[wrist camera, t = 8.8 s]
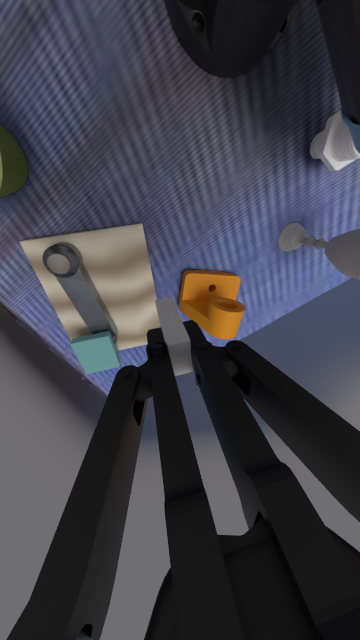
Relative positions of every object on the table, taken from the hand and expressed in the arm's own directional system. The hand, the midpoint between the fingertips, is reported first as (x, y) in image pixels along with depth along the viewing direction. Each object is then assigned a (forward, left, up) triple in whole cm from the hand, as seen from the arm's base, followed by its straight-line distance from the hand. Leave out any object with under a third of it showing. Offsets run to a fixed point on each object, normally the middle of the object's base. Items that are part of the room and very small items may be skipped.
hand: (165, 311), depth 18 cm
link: (+4, -11, -17) cm, 20 cm away
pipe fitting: (-13, +29, -19) cm, 37 cm away
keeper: (+13, -12, -17) cm, 24 cm away
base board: (+5, -9, -18) cm, 21 cm away
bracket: (+7, +10, -19) cm, 22 cm away
